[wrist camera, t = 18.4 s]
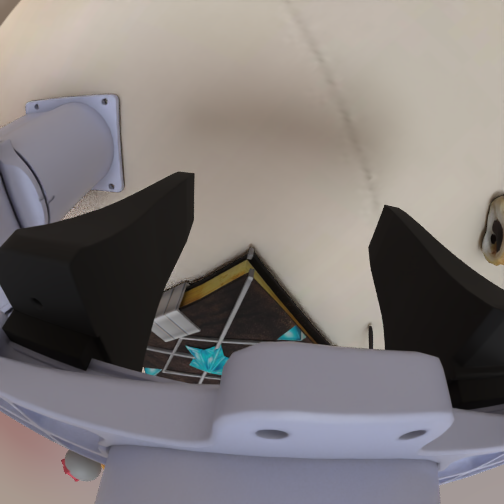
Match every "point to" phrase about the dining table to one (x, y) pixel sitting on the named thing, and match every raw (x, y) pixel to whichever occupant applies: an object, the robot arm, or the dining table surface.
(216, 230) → the dining table surface
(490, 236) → the pastry
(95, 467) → the molecule model
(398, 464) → the robot arm
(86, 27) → the dining table surface
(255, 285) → the book
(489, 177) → the dining table surface
